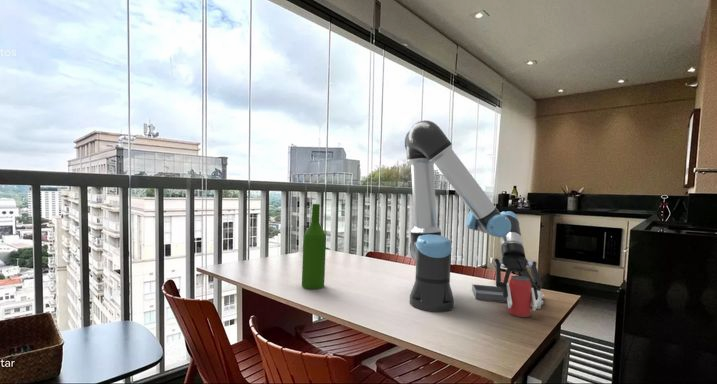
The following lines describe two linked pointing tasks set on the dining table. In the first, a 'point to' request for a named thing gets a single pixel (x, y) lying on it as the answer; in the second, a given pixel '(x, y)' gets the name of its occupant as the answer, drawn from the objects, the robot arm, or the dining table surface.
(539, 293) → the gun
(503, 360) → the dining table surface
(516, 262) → the robot arm
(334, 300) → the dining table surface
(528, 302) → the beer can
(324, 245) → the wine bottle
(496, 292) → the can tray
